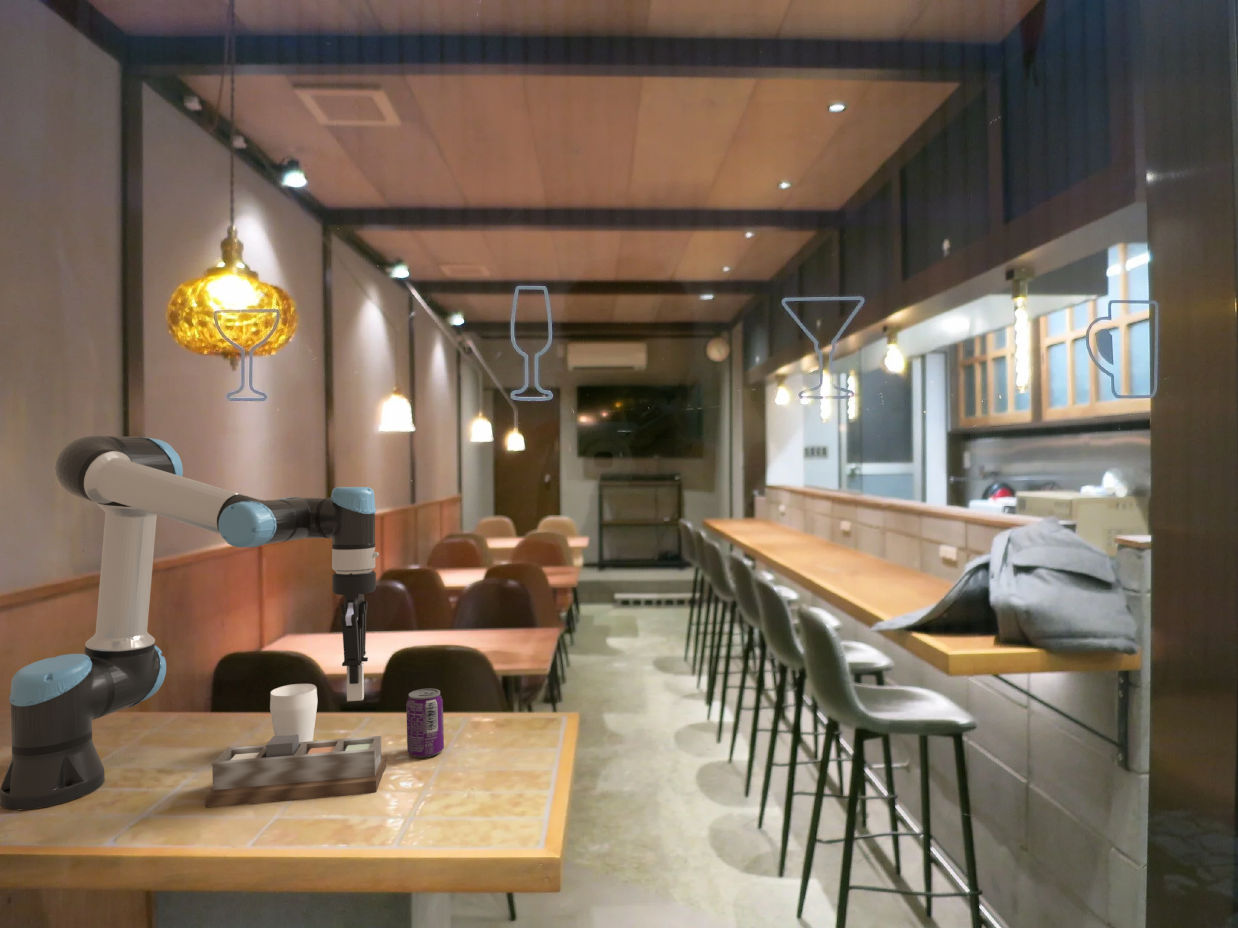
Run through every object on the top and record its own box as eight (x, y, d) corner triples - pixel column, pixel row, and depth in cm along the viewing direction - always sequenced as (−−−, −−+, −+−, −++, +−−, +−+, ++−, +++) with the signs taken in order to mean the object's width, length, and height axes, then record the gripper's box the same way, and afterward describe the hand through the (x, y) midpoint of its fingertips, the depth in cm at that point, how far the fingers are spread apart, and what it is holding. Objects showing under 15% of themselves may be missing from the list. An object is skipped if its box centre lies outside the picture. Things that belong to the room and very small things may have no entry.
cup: (307, 755, 150) (305, 695, 150) (262, 756, 151) (261, 696, 151) (325, 739, 159) (324, 682, 159) (283, 740, 160) (282, 683, 160)
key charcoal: (266, 761, 133) (266, 744, 133) (273, 752, 138) (273, 736, 138) (292, 759, 134) (292, 742, 134) (298, 750, 138) (298, 734, 138)
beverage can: (448, 746, 154) (447, 687, 154) (437, 760, 147) (435, 698, 147) (415, 746, 154) (413, 687, 154) (401, 759, 147) (400, 698, 147)
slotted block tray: (205, 807, 128) (204, 769, 128) (229, 778, 140) (229, 743, 140) (376, 791, 133) (375, 754, 133) (386, 765, 144) (385, 731, 144)
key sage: (343, 770, 135) (343, 753, 135) (348, 761, 140) (347, 745, 140) (368, 768, 136) (368, 751, 136) (372, 759, 140) (372, 743, 140)
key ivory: (227, 780, 132) (226, 763, 132) (235, 770, 136) (235, 754, 136) (254, 778, 133) (253, 761, 133) (261, 768, 137) (261, 752, 137)
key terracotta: (305, 773, 134) (305, 757, 134) (311, 764, 139) (310, 748, 139) (331, 771, 135) (330, 755, 135) (336, 762, 139) (335, 746, 139)
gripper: (369, 575, 132) (371, 709, 132) (380, 565, 145) (381, 687, 145) (325, 576, 131) (326, 712, 131) (340, 566, 144) (341, 690, 144)
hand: (355, 699), depth 138 cm, fingers closed
